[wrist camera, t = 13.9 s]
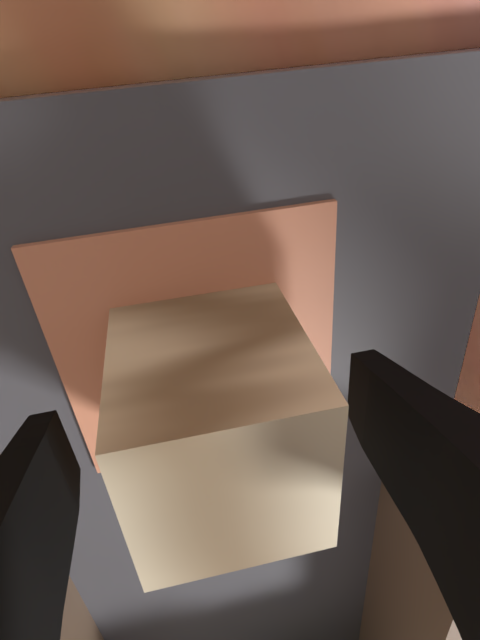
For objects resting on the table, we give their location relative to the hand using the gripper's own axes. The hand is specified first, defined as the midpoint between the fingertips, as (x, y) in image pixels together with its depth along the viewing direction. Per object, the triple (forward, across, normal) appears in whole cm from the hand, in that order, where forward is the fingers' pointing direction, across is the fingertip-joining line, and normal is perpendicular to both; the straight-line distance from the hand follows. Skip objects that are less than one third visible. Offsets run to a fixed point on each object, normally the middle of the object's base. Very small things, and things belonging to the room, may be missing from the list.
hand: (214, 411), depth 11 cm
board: (+4, 0, +13) cm, 13 cm away
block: (+2, 0, 0) cm, 2 cm away
